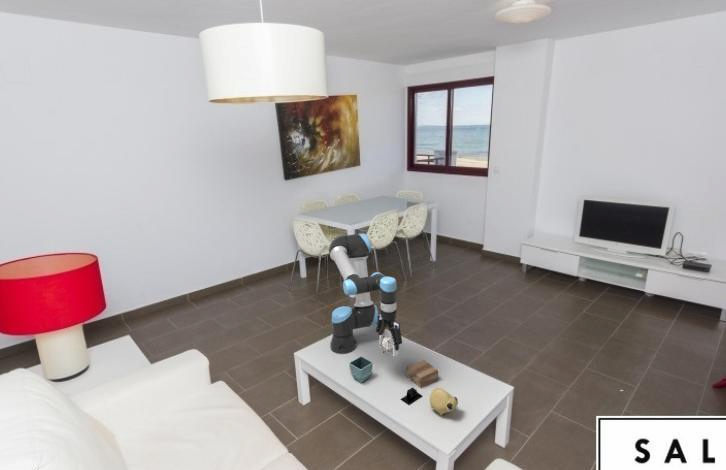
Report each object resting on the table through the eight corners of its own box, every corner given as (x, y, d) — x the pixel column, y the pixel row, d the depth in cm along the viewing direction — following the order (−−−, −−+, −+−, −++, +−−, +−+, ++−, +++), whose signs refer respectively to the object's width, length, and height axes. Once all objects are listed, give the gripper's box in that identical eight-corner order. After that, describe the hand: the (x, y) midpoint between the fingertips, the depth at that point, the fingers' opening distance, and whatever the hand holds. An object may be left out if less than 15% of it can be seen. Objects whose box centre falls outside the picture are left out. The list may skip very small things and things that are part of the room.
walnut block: (406, 376, 192) (406, 366, 191) (423, 369, 197) (423, 359, 196) (420, 388, 183) (420, 378, 181) (438, 380, 188) (438, 370, 187)
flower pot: (361, 370, 198) (361, 355, 196) (373, 377, 192) (373, 362, 189) (349, 378, 192) (348, 362, 190) (361, 386, 186) (360, 370, 184)
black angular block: (407, 409, 170) (407, 400, 169) (396, 400, 176) (396, 392, 175) (426, 396, 178) (426, 388, 177) (415, 388, 183) (415, 380, 182)
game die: (391, 356, 189) (401, 339, 189) (390, 360, 180) (401, 342, 181) (375, 346, 190) (386, 329, 190) (374, 350, 182) (385, 332, 182)
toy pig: (449, 424, 160) (450, 402, 157) (425, 411, 168) (425, 390, 165) (460, 411, 167) (461, 390, 164) (437, 399, 175) (437, 379, 172)
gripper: (367, 303, 186) (368, 344, 192) (398, 320, 169) (398, 363, 176) (379, 299, 190) (380, 338, 197) (410, 315, 174) (410, 357, 180)
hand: (388, 350), depth 186 cm, fingers closed on game die, 9 cm apart
